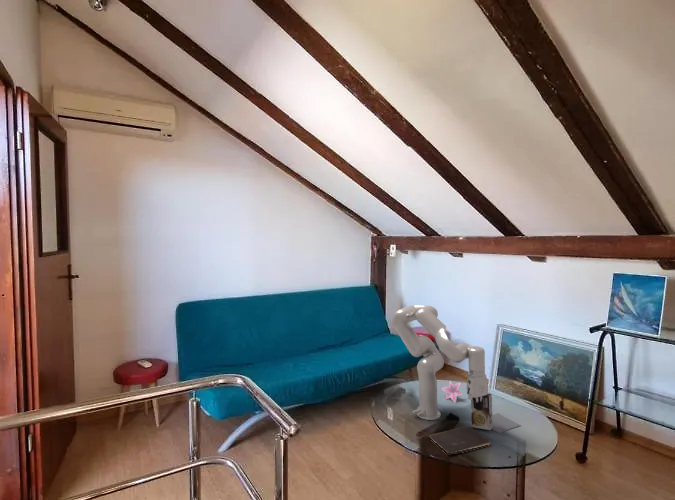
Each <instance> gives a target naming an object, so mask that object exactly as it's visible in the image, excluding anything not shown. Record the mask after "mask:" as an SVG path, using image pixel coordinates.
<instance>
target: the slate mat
mask: <svg viewBox="0 0 675 500" xmlns="http://www.w3.org/2000/svg"><path fill="white" fill-rule="evenodd" d="M492 425H493V428H492V429H491V431H492V430H493V432H496V433H497V434H503V433H505V432H508V431H509V430H510V431H511V430H513V429H515V428H518V427H522V426H521V424H519V423H517V422H516V421H514V420H512V419H510V418H507V417H506V416H504V415H502V414H500V413H499V412H497V413H494V414H492Z"/></svg>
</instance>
